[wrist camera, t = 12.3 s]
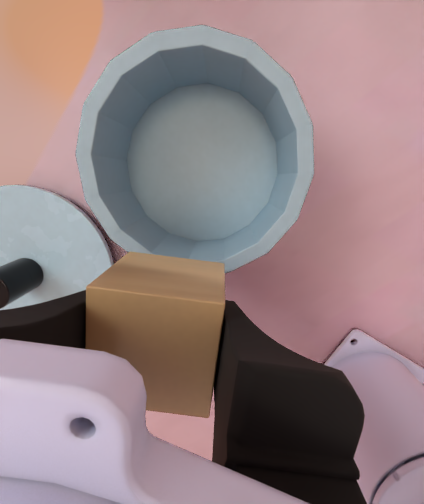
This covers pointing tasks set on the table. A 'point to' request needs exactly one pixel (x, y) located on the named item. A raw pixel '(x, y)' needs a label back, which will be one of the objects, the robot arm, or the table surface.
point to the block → (161, 326)
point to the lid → (46, 247)
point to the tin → (195, 147)
